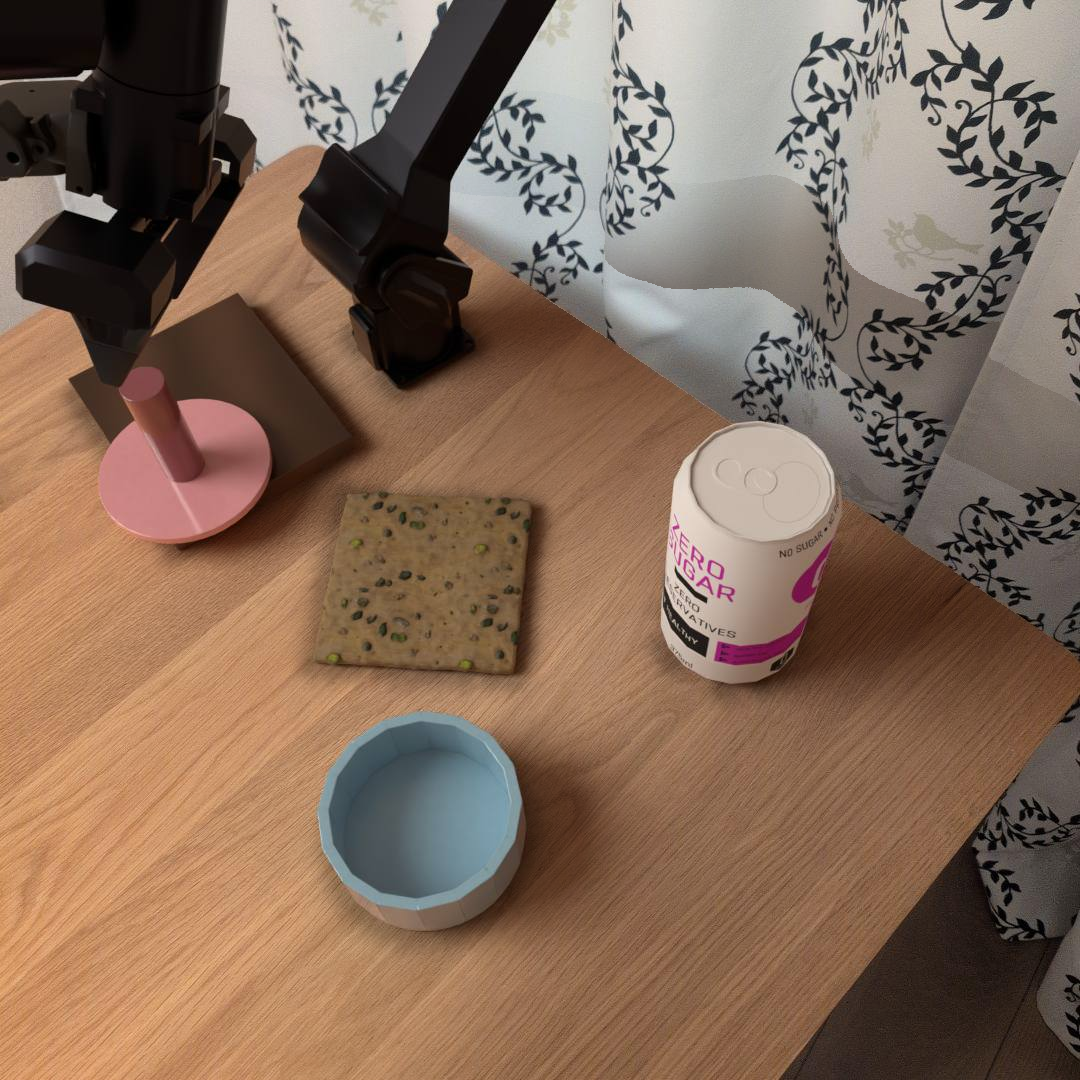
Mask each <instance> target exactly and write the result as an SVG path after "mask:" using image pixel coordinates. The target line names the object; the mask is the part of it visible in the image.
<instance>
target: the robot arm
mask: <svg viewBox="0 0 1080 1080" xmlns="http://www.w3.org/2000/svg"><path fill="white" fill-rule="evenodd" d="M557 1H558V0H452V1H451V3H450V4H449V6H448V8H447V10H446V11H445V13H444V16H443V17H442V19H441V21H440V22H439V24H438V26H437V28H436V29H435V32H434V33H433V35H432V37H431V39H430V40H429V42H428V44H427V46H426V47H425V49H424V51H423V53H422V55H421V56H420V59H419V60H418V61H417V64H416V66H415V68H414V69H413V71H412V73H411V75H410V77H409V78H408V80H407V81H406V84H405V85H404V87H403V89H402V91H401V93H400V95H399V97H398V98H397V99H396V102H395V104H394V106H393V107H392V108H391V111H390V112H389V115H388V116H387V118H386V119H385V121H384V123H383V125H382V126H381V128H380V129H379V131H378V132H377V133H376V134H375V135H373V136H371V137H369V138H368V139H366V140H365V141H363V142H361V143H359V144H357V145H356V146H354V147H352V148H351V149H349V150H348V149H346V148H345V147H343V146H342V145H341V144H340V143H338V142H334V143H332V144H331V145H330V146H329V147H328V148H327V149H325V151H324V153H323V154H322V158H321V160H320V164H319V166H318V168H317V171H316V173H315V175H314V177H313V178H312V179H311V181H310V182H309V184H308V185H307V186H306V187H305V188H304V189H303V190H302V191H301V192H300V194H298V197H297V198H298V199H299V200H300V202H302V203H303V204H302V206H301V209H300V212H299V215H298V217H297V223H296V228H297V230H299V236H300V241H301V244H302V246H303V247H304V248H305V250H306V251H307V253H308V254H309V255H310V256H311V257H313V259H315V261H317V262H318V264H320V265H321V266H322V267H323V268H324V269H325V270H326V271H327V272H328V273H329V274H330V275H331V276H332V278H334V279H335V280H336V281H337V283H339V284H340V285H341V286H342V287H343V288H344V289H345V290H346V291H347V292H348V293H349V294H350V295H351V299H352V303H353V304H352V305H351V306H349V307H348V311H347V313H348V316H349V321H350V324H351V327H352V331H351V334H352V337H353V340H354V341H355V342H356V346H357V350H358V352H359V353H360V354H361V355H362V356H363V357H364V358H365V360H366V361H367V362H368V363H369V364H370V365H371V367H372V368H373V369H374V370H375V371H377V372H382V373H383V375H384V376H385V377H386V379H388V381H389V382H390V383H391V384H392V385H393V386H394V387H395V388H396V389H397V390H405V389H407V388H409V387H411V386H412V385H414V384H416V383H418V382H419V381H421V380H423V379H425V378H427V377H428V376H431V375H432V374H434V373H435V372H437V371H439V370H441V369H443V368H445V367H446V366H448V365H450V364H451V363H453V362H455V361H457V360H458V359H461V358H462V357H464V356H466V355H467V354H470V353H471V352H473V351H474V350H475V349H476V348H477V343H476V339H475V338H474V337H473V335H471V334H470V333H469V331H468V330H466V328H465V327H464V326H463V323H462V315H461V307H460V302H461V301H463V300H464V299H467V297H468V296H469V294H470V288H471V285H472V280H473V275H474V270H473V268H472V267H470V266H469V265H468V264H467V263H466V262H465V261H463V260H462V259H461V258H460V257H459V256H458V254H456V253H455V252H454V251H453V250H451V249H450V248H449V247H448V246H447V245H446V244H445V243H446V241H447V238H448V235H449V227H450V225H449V224H450V206H451V205H450V204H451V203H450V202H451V184H452V181H453V179H454V176H455V174H456V172H457V170H458V169H459V168H460V165H461V163H462V162H463V160H464V159H465V157H466V156H467V153H468V152H469V150H470V148H471V146H472V145H473V144H474V141H475V140H476V138H477V136H478V134H479V133H480V132H481V130H482V129H483V126H484V125H485V123H486V121H487V119H488V118H489V117H490V115H491V113H492V111H493V109H494V107H495V106H496V104H497V102H498V100H499V99H500V97H501V96H502V94H503V93H504V90H505V89H506V87H507V86H508V84H509V82H510V80H511V79H512V77H513V75H514V73H515V72H516V70H517V68H518V67H519V66H520V64H521V62H522V60H523V59H524V57H525V55H526V54H527V52H528V50H529V48H530V47H531V45H532V43H533V41H534V40H535V38H536V36H537V35H538V33H539V31H540V30H541V28H542V26H543V25H544V23H545V21H546V20H547V17H548V16H549V14H550V13H551V11H552V9H553V8H554V6H555V4H556V3H557ZM228 4H229V0H0V81H2V82H3V81H13V82H7V83H2V84H0V182H7V181H9V180H10V179H22V178H28V177H56V176H63V175H64V176H65V179H64V180H65V181H64V183H65V184H64V185H65V187H64V190H65V191H66V192H70V193H72V194H76V195H80V196H83V197H87V198H92V197H93V195H97V196H101V197H102V199H101V200H102V203H103V204H105V205H107V206H108V207H110V208H112V209H113V210H116V211H115V213H114V214H113V215H112V216H111V218H110V219H109V220H108V221H104V220H100V219H98V218H94V217H91V216H87V215H84V214H82V213H81V214H80V213H77V212H74V211H71V210H67V209H63V210H61V211H60V212H58V213H57V214H55V215H53V216H50V218H48V219H47V220H45V221H44V222H43V223H42V224H41V225H40V226H39V227H38V228H37V230H36V231H35V232H34V233H33V234H32V235H31V236H30V237H29V238H28V239H27V240H26V242H25V243H24V244H23V245H22V247H20V248H19V250H18V251H16V253H15V254H14V276H15V277H14V279H15V291H16V292H17V293H18V295H19V296H20V298H21V299H22V300H24V301H27V302H31V303H35V304H38V305H42V306H45V307H49V308H52V309H56V310H59V311H63V312H66V313H69V314H70V315H71V318H72V319H73V321H74V323H75V325H76V326H77V329H78V331H79V333H80V335H81V338H82V340H83V342H84V345H85V347H86V351H87V352H88V353H87V354H88V355H89V357H90V360H91V363H92V366H94V368H95V370H96V373H97V375H98V378H99V380H100V382H101V383H103V384H106V385H109V386H113V387H117V388H120V387H121V386H122V385H123V383H124V382H125V380H126V378H127V376H128V375H129V373H130V371H131V370H132V368H133V366H134V364H135V363H136V361H137V359H138V357H139V356H140V354H141V352H142V350H143V349H144V347H145V345H146V344H147V342H148V340H149V338H150V337H151V336H153V333H154V331H155V330H156V328H157V327H158V325H159V324H160V322H161V320H162V318H163V316H164V315H165V312H166V311H167V310H168V307H169V306H170V304H171V303H172V300H177V299H179V297H180V295H181V294H182V293H183V290H184V289H185V287H186V285H187V284H188V282H189V280H190V278H191V277H192V275H193V273H194V272H195V270H196V269H197V267H198V265H199V263H200V262H201V260H202V259H203V257H204V255H205V254H206V251H207V250H208V248H209V247H210V246H211V244H212V242H213V240H214V238H215V237H216V235H217V233H218V232H219V230H220V228H221V227H222V226H223V224H224V222H225V220H226V218H227V217H228V216H229V214H230V212H231V210H232V209H233V207H234V205H235V204H236V202H237V200H238V199H239V197H240V195H241V193H243V190H244V189H245V186H246V181H247V179H248V178H249V176H250V175H251V173H252V171H253V170H254V168H255V159H256V150H257V143H258V138H257V136H256V135H255V134H254V132H253V131H252V130H251V128H250V127H249V125H248V124H247V122H246V121H245V120H244V118H241V117H238V116H235V115H232V114H228V113H225V112H226V111H227V109H228V108H229V103H230V93H231V87H230V86H228V85H224V84H222V83H221V77H222V66H223V56H224V48H225V47H224V46H225V34H226V27H227V26H226V25H227V15H228ZM84 71H92V72H91V73H90V74H89V75H88V76H87V77H86V78H85V79H83V80H79V79H64V78H77V77H79V76H80V75H82V74H83V73H84ZM61 78H62V79H61ZM40 79H53V80H40ZM54 79H55V80H54ZM20 80H21V81H20ZM23 80H27V81H23ZM28 80H29V81H28ZM222 161H224V162H227V163H229V168H228V173H226V172H224V171H222V170H223V163H222Z"/></svg>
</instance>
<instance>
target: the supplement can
mask: <svg viewBox="0 0 1080 1080" xmlns="http://www.w3.org/2000/svg"><path fill="white" fill-rule="evenodd" d="M671 496H672V497H671V504H670V505H671V506H670V507H671V508H670V514H669V527H668V536H667V545H666V546H667V547H666V556H665V566H664V575H663V585H662V592H661V595H662V596H661V605H660V628H661V631H662V634H663V636H664V639H665V642H666V644H667V648H668V649H669V650H670V651H671V653H672V654H674V656H675V657H676V658H677V659H678V661H680V663H681V664H682V665H683V666H684V667H685V668H688V669H689V670H691V671H693V672H694V673H696V674H698V675H700V677H703V678H705V679H707V680H712V681H715V682H716V681H717V682H721V683H725V684H729V685H734V684H744V683H754V682H758V681H761V680H762V679H764V678H767V677H769V676H771V675H774V674H775V673H778V672H779V671H780V670H782V668H783V667H784V666H785V665H786V664H788V662H789V661H790V660H791V659H792V658H793V657H794V656H795V654H796V652H797V649H798V646H799V643H800V641H801V638H802V635H803V633H804V630H805V627H806V624H807V621H808V618H809V616H810V615H809V614H810V613H811V609H812V606H813V603H814V600H815V597H816V594H817V590H818V588H819V585H820V582H821V579H822V576H823V573H824V570H825V567H826V564H827V561H828V557H829V555H830V552H831V549H832V546H833V544H834V540H835V537H836V534H837V531H838V529H839V526H840V523H841V520H842V516H843V500H842V499H843V497H842V488H841V486H840V484H839V482H838V480H837V479H836V476H835V472H834V470H833V467H832V466H831V463H830V462H829V460H828V458H827V456H826V454H825V452H824V451H823V450H822V449H821V448H820V447H819V446H818V445H817V444H816V443H815V442H814V441H813V440H811V438H810V437H808V436H807V435H805V434H804V433H802V432H799V431H798V430H796V429H793V428H791V427H789V426H787V425H784V424H779V423H773V422H769V421H762V420H755V421H744V422H735V423H733V424H731V425H728V426H726V427H723V428H720V429H718V430H716V431H713V432H712V433H711V434H710V435H709V436H708V437H707V438H705V440H703V441H702V442H701V443H700V444H699V445H698V446H697V447H696V448H695V449H694V450H693V451H692V452H691V453H690V454H689V455H688V456H687V457H685V458H684V460H683V462H682V464H681V466H680V467H679V470H678V472H677V473H676V476H675V478H674V480H673V487H672V495H671Z"/></svg>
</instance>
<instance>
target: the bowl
mask: <svg viewBox="0 0 1080 1080" xmlns="http://www.w3.org/2000/svg"><path fill="white" fill-rule="evenodd" d="M316 813H317V821H318V830H319V835H320V836H319V837H320V843H321V849H322V851H323V854H324V855H325V856H326V859H327V860H328V862H329V863H330V864H331V866H332V868H333V869H334V871H335V873H336V874H337V876H338V877H339V879H340V880H341V882H342V884H343V885H344V886H345V888H346V890H347V891H348V893H349V894H350V896H351V897H352V898H353V900H354V901H355V903H356V904H357V905H358V906H360V907H362V908H363V909H364V910H365V911H366V912H368V913H369V914H370V915H372V916H373V917H374V918H375V919H377V920H379V921H382V922H383V923H385V924H387V925H390V926H394V927H396V928H399V929H403V930H408V931H417V932H431V931H433V932H435V931H439V930H445V929H449V928H453V927H456V926H459V925H462V924H464V923H467V922H469V921H470V920H472V919H474V918H475V917H477V916H479V915H480V914H482V913H484V912H485V911H486V910H487V909H489V908H490V907H492V905H493V904H494V903H495V902H496V901H497V900H498V899H500V897H501V896H502V895H503V893H504V892H505V891H506V890H507V888H508V887H509V886H510V884H511V882H512V880H513V879H514V878H515V877H514V876H515V875H516V873H517V871H518V869H519V866H520V863H521V861H522V856H523V852H524V848H525V839H526V831H527V820H526V815H525V807H524V801H523V796H522V792H521V788H520V784H519V780H518V775H517V771H516V767H515V765H514V762H513V761H512V760H511V759H510V757H509V756H508V754H507V753H506V751H505V750H504V749H503V748H502V746H501V745H500V744H499V742H498V741H497V739H496V738H495V737H494V736H493V734H492V733H490V732H488V731H487V730H485V729H483V728H481V727H479V726H478V725H476V724H475V723H473V722H471V721H469V720H467V719H465V718H464V717H462V716H460V715H455V714H449V713H448V714H447V713H441V712H434V711H426V710H420V711H419V710H418V711H415V712H414V711H413V712H410V713H407V714H401V715H397V716H393V717H389V718H385V719H382V720H380V721H379V722H378V723H376V724H375V725H374V726H372V727H370V728H369V729H367V730H366V731H364V732H363V733H361V734H360V735H358V736H356V737H354V739H352V740H351V741H350V742H348V744H347V746H346V747H345V748H344V750H343V751H342V752H341V754H340V755H339V757H338V758H337V759H336V761H335V762H334V763H333V764H332V766H331V767H330V769H329V770H328V771H327V773H326V776H325V780H324V784H323V787H322V791H321V795H320V799H319V802H318V806H317V812H316Z"/></svg>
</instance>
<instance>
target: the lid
mask: <svg viewBox="0 0 1080 1080" xmlns="http://www.w3.org/2000/svg"><path fill="white" fill-rule="evenodd" d="M119 391H120V394H121V396H122V398H123V399H124V401H125V403H126V405H127V407H128V409H129V410H130V412H131V414H132V416H133V418H134V419H135V421H133V422H132V423H130V424H129V425H128V426H127V427H126V428H125V429H124V430H123V431H121V433H120V434H119V435H118V436H117V437H116V438H115V439H114V441H113V442H112V444H111V445H109V446H108V448H107V449H106V452H105V453H104V455H103V458H102V460H101V463H100V466H99V470H98V479H97V480H98V481H97V487H98V494H99V498H100V501H101V503H102V506H103V507H104V509H105V511H106V513H107V514H108V515H109V517H110V519H111V520H112V521H113V522H114V523H115V524H116V525H117V526H118V527H119V528H120V529H122V530H123V531H124V532H125V533H127V534H129V535H131V536H133V537H135V538H138V539H141V540H143V541H146V542H150V543H157V544H166V545H167V544H168V545H174V544H175V543H186V542H192V541H195V542H197V541H200V540H203V539H206V538H209V537H212V536H214V535H217V534H218V533H220V532H223V531H225V530H226V529H228V528H229V527H232V526H233V525H234V524H236V523H237V522H238V521H240V520H241V519H242V518H243V517H245V516H246V515H247V514H248V513H249V512H250V511H251V510H252V508H253V506H254V505H255V504H256V503H257V501H258V500H259V499H260V497H261V495H262V494H263V492H264V491H265V488H266V486H267V484H268V482H269V478H270V475H271V470H272V451H271V446H270V443H269V441H268V438H267V436H266V433H265V431H264V430H263V428H262V426H261V425H260V424H259V423H258V421H257V420H256V419H255V418H254V417H253V416H251V415H250V414H249V413H248V412H246V411H244V410H243V409H241V408H239V407H237V406H235V405H233V404H230V403H226V402H223V401H218V400H212V399H189V400H182V401H176V399H175V397H174V395H173V393H172V391H171V389H170V387H169V385H168V383H167V381H166V379H165V377H164V375H163V373H162V372H161V371H160V370H158V369H156V368H153V367H139V368H136V369H134V370H132V371H130V373H129V375H128V376H127V378H126V380H125V382H124V383H123V385H122V386H121V387H120V388H119ZM253 509H254V508H253ZM196 540H197V541H196Z"/></svg>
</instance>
